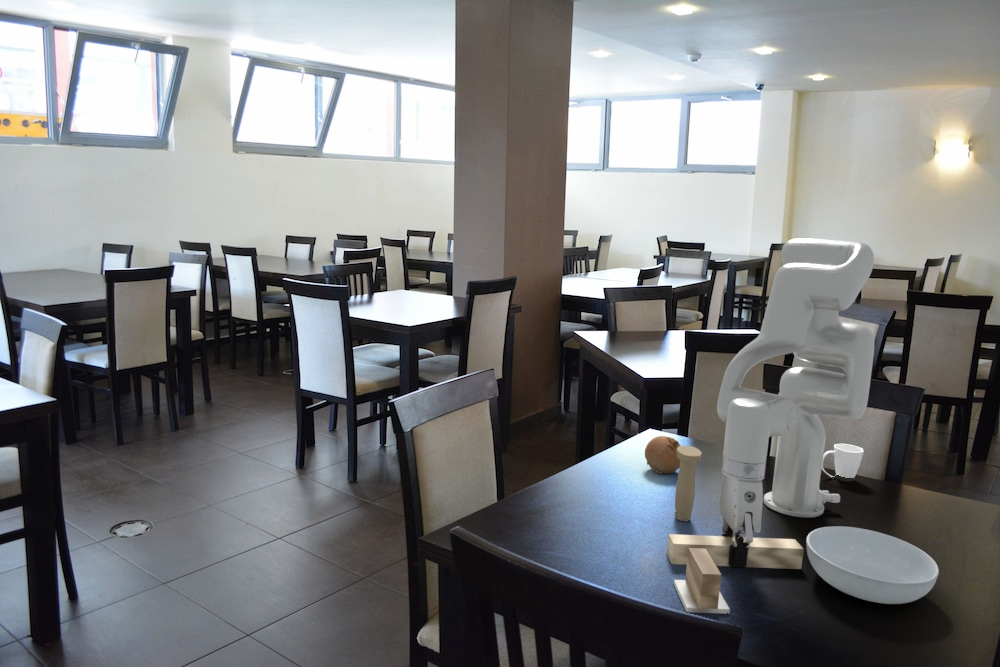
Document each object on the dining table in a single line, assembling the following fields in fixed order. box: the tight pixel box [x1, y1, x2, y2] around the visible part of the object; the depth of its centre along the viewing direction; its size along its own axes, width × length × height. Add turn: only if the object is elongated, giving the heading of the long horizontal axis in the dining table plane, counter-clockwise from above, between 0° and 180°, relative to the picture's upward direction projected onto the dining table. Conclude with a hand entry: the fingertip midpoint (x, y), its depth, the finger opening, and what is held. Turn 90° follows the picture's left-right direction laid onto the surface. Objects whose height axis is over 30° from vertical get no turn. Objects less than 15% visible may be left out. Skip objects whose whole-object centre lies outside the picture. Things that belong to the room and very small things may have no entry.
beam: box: [666, 533, 805, 570], centre depth 139 cm, size 24×4×4 cm, turn 90°
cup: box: [821, 443, 865, 478], centre depth 184 cm, size 7×10×8 cm
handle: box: [674, 445, 703, 522], centre depth 155 cm, size 5×6×15 cm
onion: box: [644, 435, 681, 475], centre depth 183 cm, size 10×9×10 cm
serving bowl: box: [805, 525, 940, 605], centre depth 131 cm, size 21×21×7 cm
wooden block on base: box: [673, 548, 731, 615], centre depth 125 cm, size 7×9×7 cm
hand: (733, 558), depth 139 cm, fingers closed on beam, 4 cm apart
